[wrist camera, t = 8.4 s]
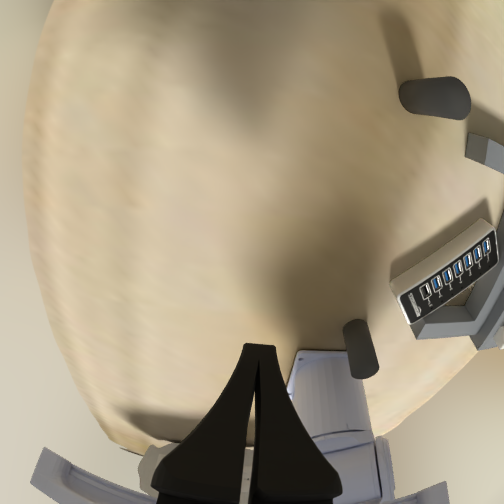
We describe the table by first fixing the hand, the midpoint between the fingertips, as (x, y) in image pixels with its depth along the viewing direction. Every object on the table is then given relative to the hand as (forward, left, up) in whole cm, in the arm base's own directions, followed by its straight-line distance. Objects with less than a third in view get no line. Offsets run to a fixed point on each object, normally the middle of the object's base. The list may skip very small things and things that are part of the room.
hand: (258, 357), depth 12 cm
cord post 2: (+13, -9, -9) cm, 18 cm away
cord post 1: (-7, -9, -9) cm, 15 cm away
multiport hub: (0, -16, -10) cm, 19 cm away
